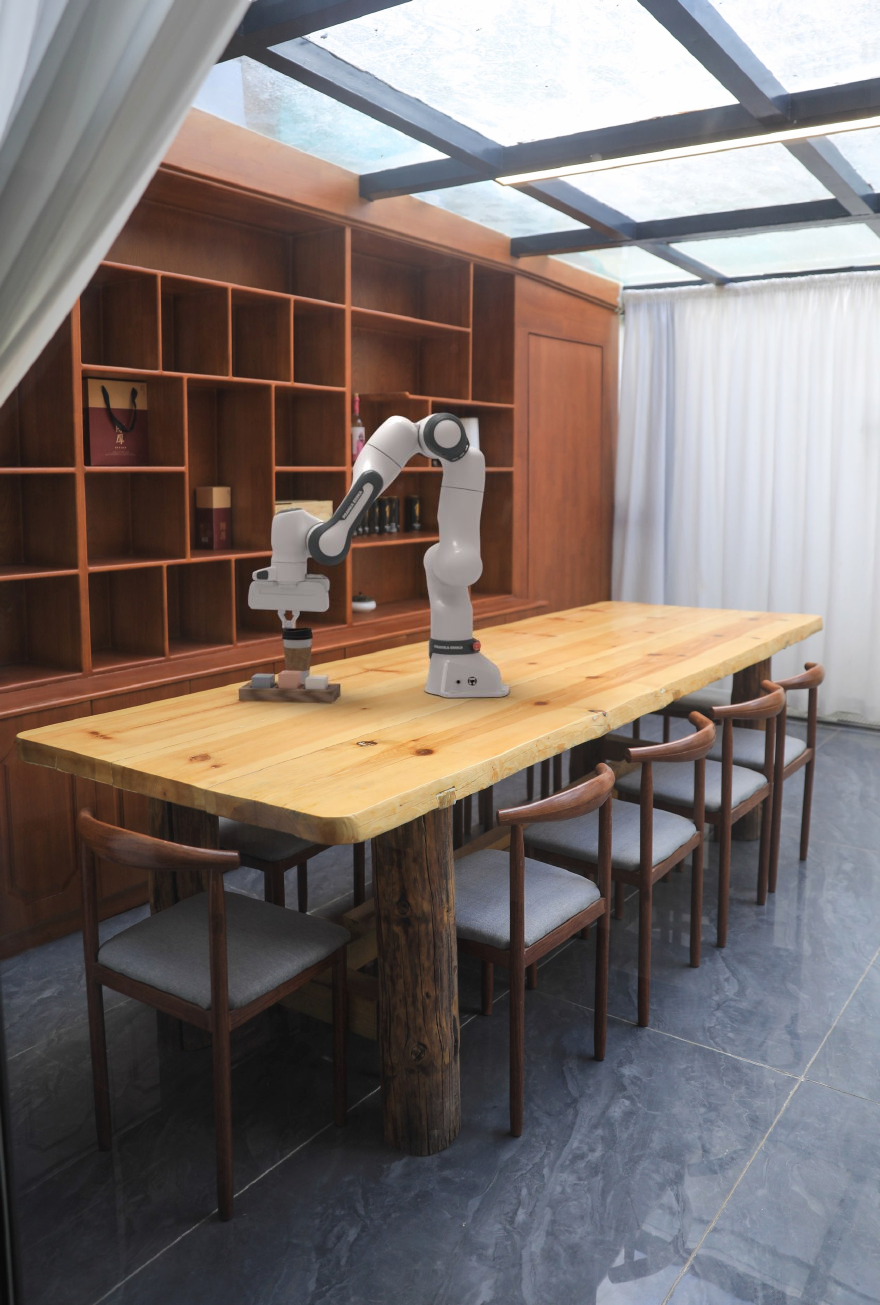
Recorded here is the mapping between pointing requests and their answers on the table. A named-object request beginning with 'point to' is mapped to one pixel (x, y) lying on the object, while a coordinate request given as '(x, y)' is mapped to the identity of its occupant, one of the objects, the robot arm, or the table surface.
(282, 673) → the terracotta key
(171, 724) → the table surface
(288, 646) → the coffee cup
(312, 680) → the ivory key
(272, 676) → the slate key
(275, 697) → the tray
